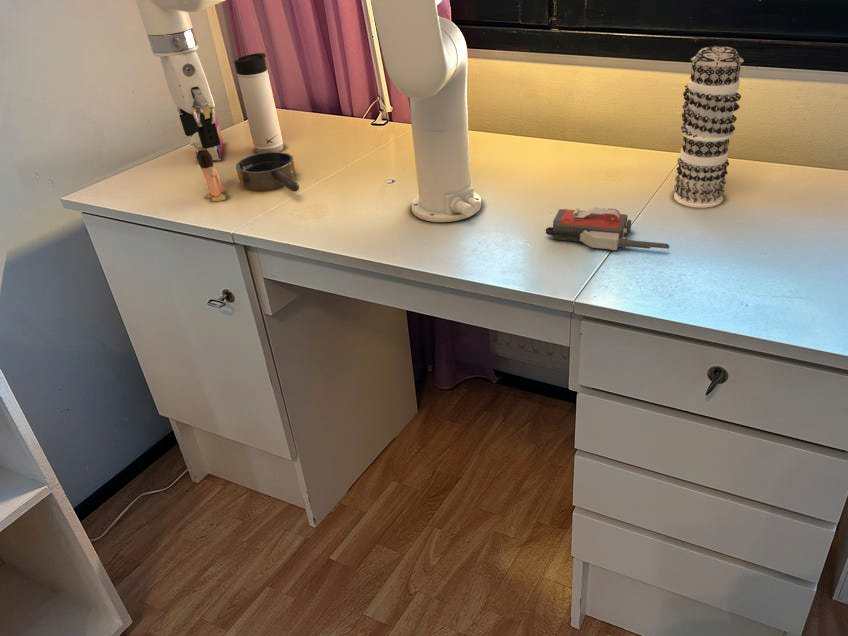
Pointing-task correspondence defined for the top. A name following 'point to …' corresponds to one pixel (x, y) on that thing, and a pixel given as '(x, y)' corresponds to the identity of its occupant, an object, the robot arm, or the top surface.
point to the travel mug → (259, 103)
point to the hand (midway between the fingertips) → (202, 140)
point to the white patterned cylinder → (707, 126)
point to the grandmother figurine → (208, 170)
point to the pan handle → (286, 180)
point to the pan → (264, 170)
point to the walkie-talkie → (596, 229)
